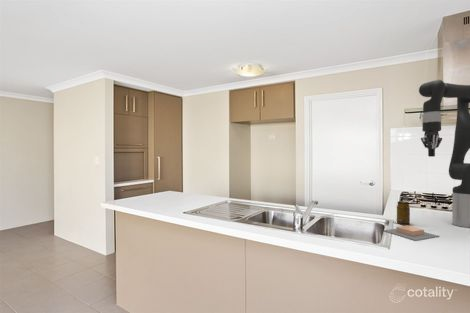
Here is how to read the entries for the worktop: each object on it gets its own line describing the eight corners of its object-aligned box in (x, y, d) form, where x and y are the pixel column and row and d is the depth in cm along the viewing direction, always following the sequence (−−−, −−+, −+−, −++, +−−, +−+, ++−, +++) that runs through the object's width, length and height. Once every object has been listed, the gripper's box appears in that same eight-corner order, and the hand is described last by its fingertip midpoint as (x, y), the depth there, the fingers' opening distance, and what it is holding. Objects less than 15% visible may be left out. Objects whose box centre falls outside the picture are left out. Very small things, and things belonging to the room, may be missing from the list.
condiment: (403, 221, 151) (403, 200, 150) (416, 225, 142) (416, 203, 142) (392, 222, 149) (392, 201, 149) (405, 226, 141) (405, 203, 140)
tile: (407, 225, 132) (396, 226, 129) (424, 229, 125) (412, 231, 122) (407, 230, 132) (396, 231, 129) (424, 234, 125) (412, 236, 122)
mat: (405, 227, 137) (405, 227, 137) (439, 236, 123) (439, 235, 123) (383, 231, 132) (383, 230, 132) (415, 241, 117) (415, 240, 117)
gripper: (432, 123, 138) (432, 156, 138) (415, 122, 133) (414, 156, 133) (448, 121, 131) (448, 156, 131) (430, 120, 126) (430, 156, 126)
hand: (431, 156), depth 132 cm, fingers closed
